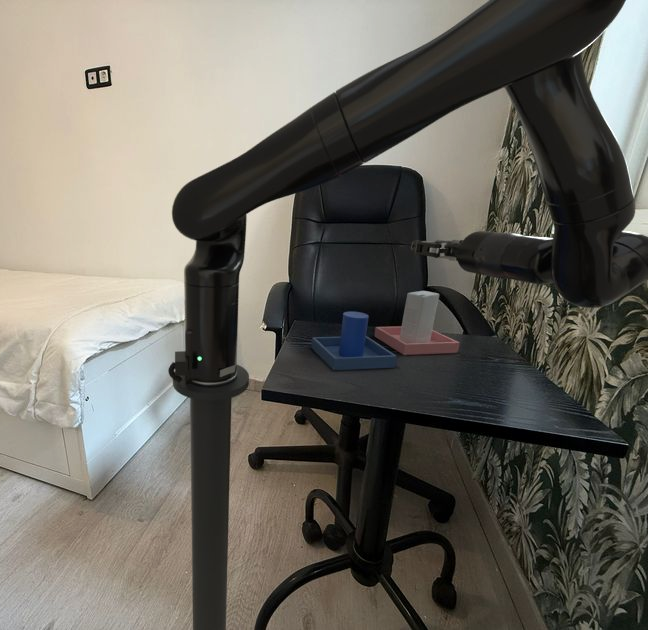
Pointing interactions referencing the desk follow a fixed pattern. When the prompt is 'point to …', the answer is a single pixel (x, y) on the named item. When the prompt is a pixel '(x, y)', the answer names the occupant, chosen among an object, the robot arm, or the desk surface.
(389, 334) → the rose tray
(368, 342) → the blue tray
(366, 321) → the blue canister
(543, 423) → the desk surface
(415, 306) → the cosmetic box
